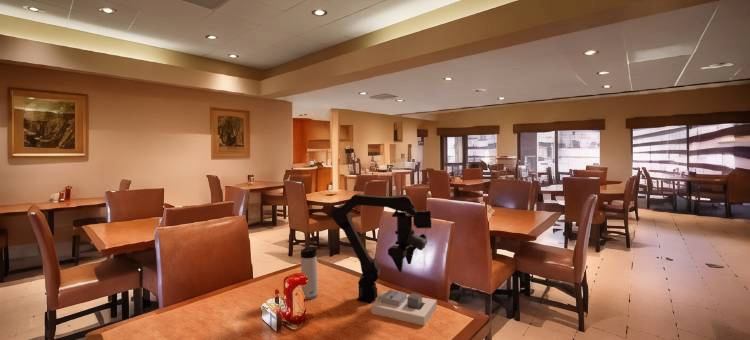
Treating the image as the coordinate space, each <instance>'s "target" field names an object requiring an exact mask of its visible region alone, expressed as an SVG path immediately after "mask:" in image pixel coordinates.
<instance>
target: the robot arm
mask: <svg viewBox="0 0 750 340" xmlns="http://www.w3.org/2000/svg"><path fill="white" fill-rule="evenodd" d="M357 206H369V207H379V208H380V207H381V208H388V209H392V210H394V212H393V213H392V214H391V217H393V218H396V230H395V231H394V234H395V235H396V241H395V245H394V244H393V245H392V246H390V247H389V248H388V249H387V255H388V256H389V257H391V259H392V261H393V262H394V264H395V267H396V269H397V271H398V272H399V273H402V272H403V265H404V258H405V260H406V262H407V265H411V263H412V260H413V256H414V252H415V250H416V249H417V250H419V251H423V249H425V247H426V245H427V243H428V239H427V235H426V234H425V233H421V234H420V235H419V234H415V229H413V226H414V227H416V229H432V214H431V210H430V209H429V210H427V209H426V210H417V208H416V206H414V205H413V202H412V198H411V197H410V195H408V194H398V195H391V196H382V195H371V194H370V195H369V194H360V193H355V194H353V195H352V196H351V198H350V199H349V200H347V201H346V202H345V203H344V204H340V205H338V206H336V208H334V209H333V210H332V212H331V217H332V220H333V222H334V223H336V225H337V226H338V227H339V228H340V229H341V230H342V231H343V232H344V234H345V236H346V238H347V240H348V241H349V243H350V245H351V248H352V249H353V251H354V253H355V255H356V257H357V259H358V261H359V265H360V269H361V275H360V277H359V280H358V281H357V284H358V297H356V301H360V302H364V303H370V304H371V303H372V304H373V303H374V302H375V301H376V297H378V296H379V295H378V287H377V283H376V282H377V281H378V279H379V275H380V272H381V264H379V261H378V260H377V257H371V255H370V254H369V252H368V250H367V248H366V247H365V244H364V243H363V241H362V239H361V237H360V235H359V233H358V232H357V231H358V230H356V228H355V226H354V223H353V217H352V214H351V211H352V210H354V208H355V207H357Z"/></svg>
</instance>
